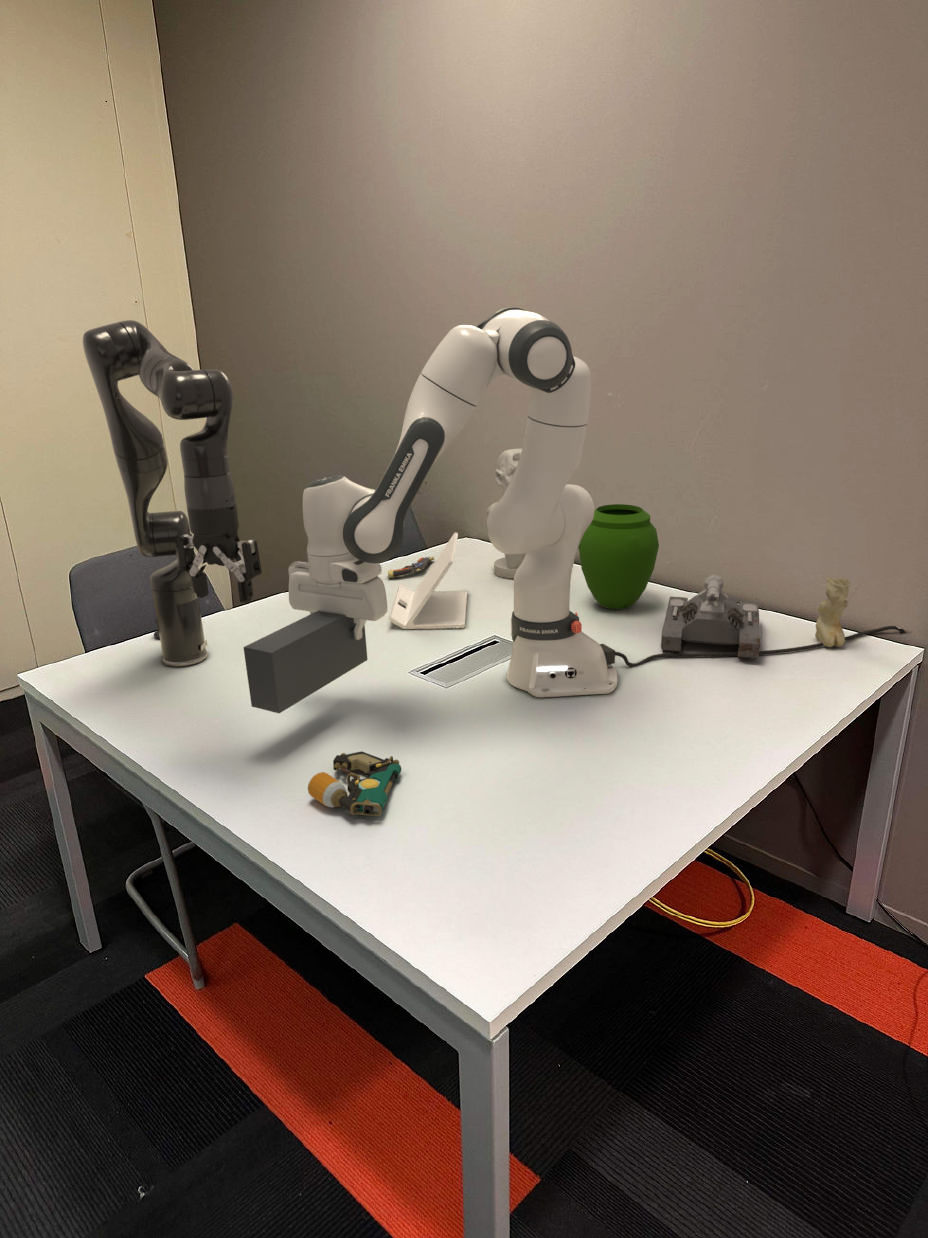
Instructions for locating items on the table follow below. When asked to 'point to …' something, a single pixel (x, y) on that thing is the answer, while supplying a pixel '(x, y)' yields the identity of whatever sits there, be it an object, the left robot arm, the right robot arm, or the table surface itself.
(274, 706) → the box
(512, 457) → the bust sculpture
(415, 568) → the toy gun
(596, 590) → the vase
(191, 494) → the left robot arm
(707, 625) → the toy
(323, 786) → the spray gun
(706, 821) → the table surface
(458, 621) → the tablet stand
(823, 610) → the sculpture
